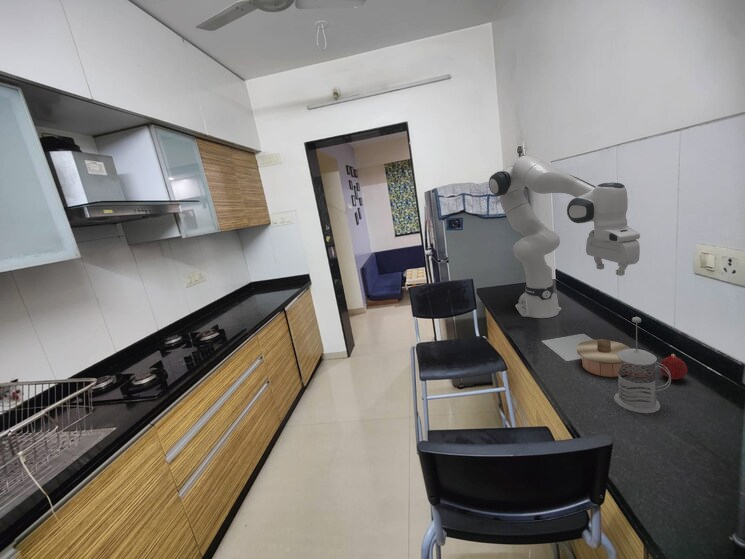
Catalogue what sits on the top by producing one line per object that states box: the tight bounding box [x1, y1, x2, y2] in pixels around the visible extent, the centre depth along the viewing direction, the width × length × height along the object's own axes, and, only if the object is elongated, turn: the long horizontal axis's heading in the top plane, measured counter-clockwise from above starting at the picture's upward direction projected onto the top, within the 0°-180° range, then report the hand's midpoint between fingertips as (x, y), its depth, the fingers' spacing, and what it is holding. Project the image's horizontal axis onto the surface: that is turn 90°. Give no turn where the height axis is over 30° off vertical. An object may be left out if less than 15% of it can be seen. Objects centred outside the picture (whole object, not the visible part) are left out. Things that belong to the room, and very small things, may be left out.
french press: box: [613, 316, 672, 414], centre depth 83 cm, size 10×12×25 cm
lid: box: [576, 338, 632, 364], centre depth 101 cm, size 15×15×4 cm
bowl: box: [581, 357, 628, 378], centre depth 102 cm, size 12×12×6 cm
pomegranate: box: [659, 353, 688, 380], centre depth 91 cm, size 6×6×8 cm
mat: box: [541, 333, 595, 362], centre depth 118 cm, size 17×17×1 cm
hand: (609, 271), depth 109 cm, fingers open, 8 cm apart
